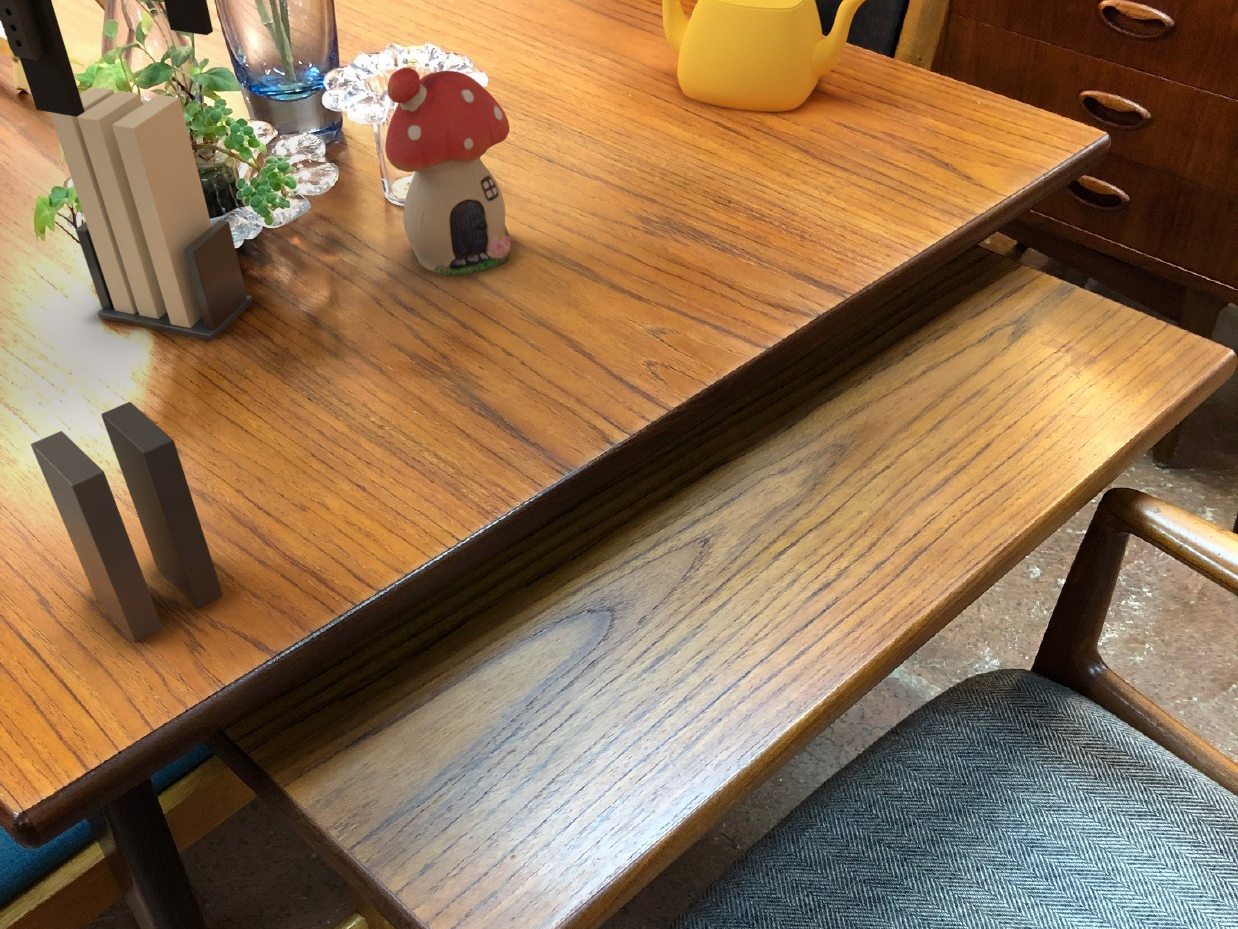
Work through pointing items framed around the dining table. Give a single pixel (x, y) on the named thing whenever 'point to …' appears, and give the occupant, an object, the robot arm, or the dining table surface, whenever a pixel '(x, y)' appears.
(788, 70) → the teapot
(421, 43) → the dining table surface
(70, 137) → the shelved white books
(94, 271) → the book rack
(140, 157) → the white book
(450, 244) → the decorative ornament
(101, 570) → the pair of brown blocks
